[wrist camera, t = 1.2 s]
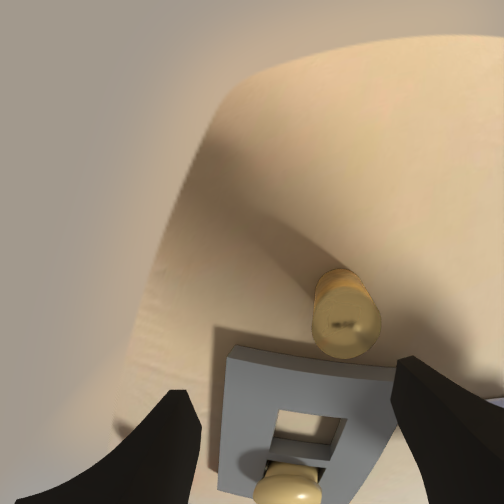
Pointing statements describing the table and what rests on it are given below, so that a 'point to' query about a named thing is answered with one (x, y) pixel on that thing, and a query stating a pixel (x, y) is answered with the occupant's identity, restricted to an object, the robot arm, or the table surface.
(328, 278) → the cylinder
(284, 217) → the table surface
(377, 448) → the housing
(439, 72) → the table surface
